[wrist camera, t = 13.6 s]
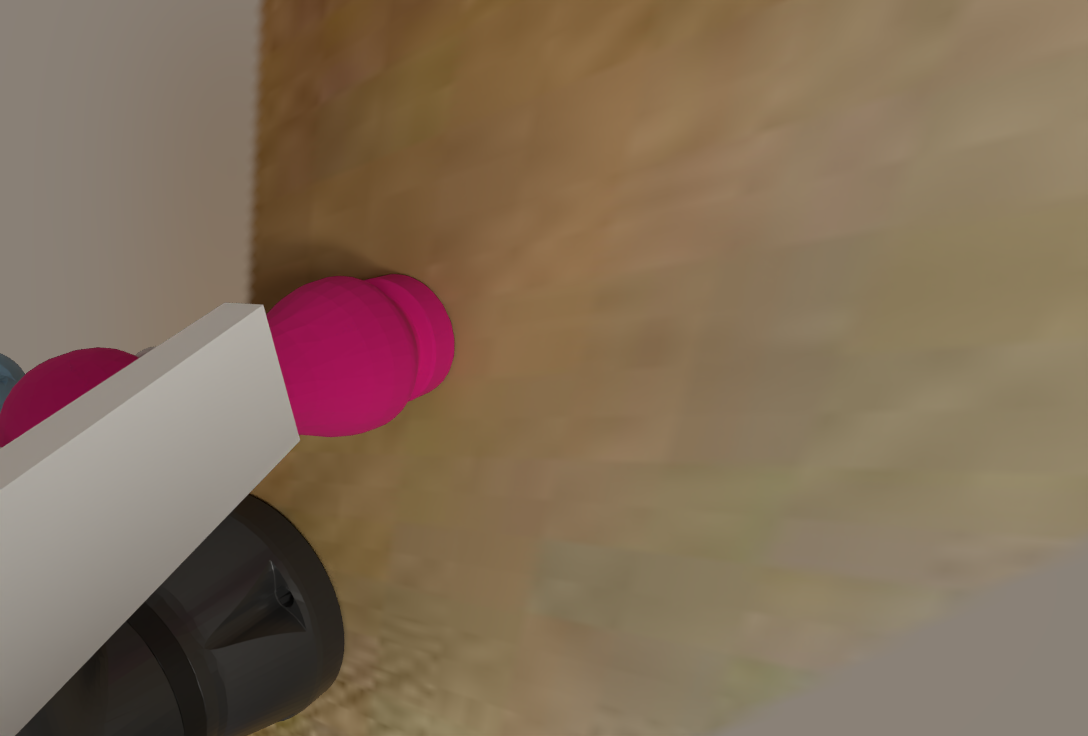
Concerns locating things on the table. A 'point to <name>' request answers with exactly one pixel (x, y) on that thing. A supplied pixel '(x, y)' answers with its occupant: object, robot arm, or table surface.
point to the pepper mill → (297, 358)
